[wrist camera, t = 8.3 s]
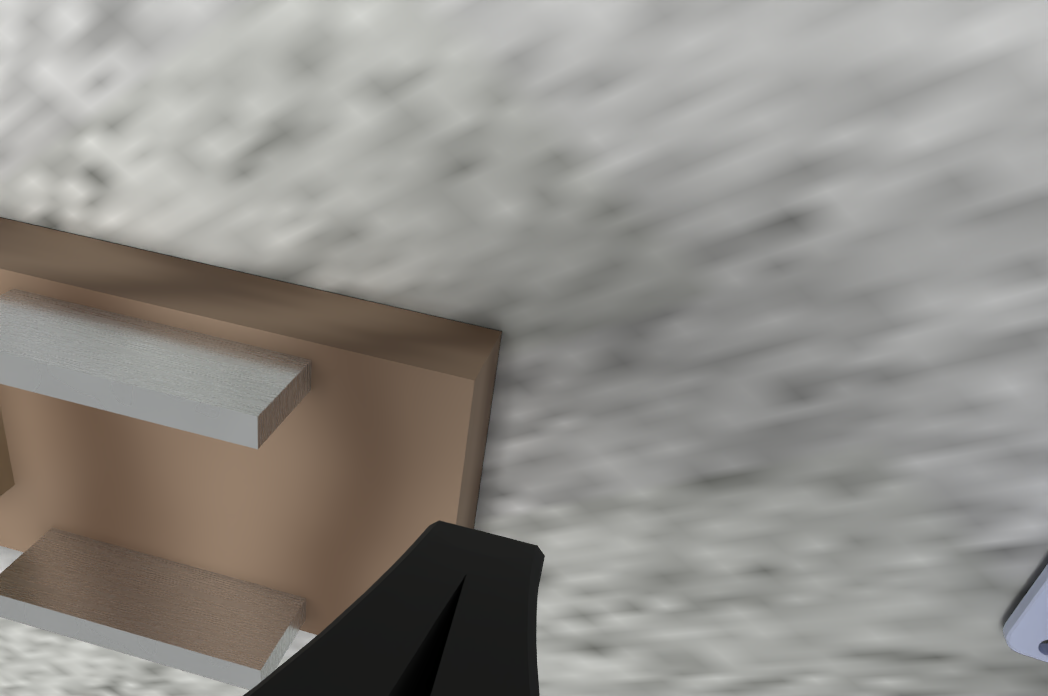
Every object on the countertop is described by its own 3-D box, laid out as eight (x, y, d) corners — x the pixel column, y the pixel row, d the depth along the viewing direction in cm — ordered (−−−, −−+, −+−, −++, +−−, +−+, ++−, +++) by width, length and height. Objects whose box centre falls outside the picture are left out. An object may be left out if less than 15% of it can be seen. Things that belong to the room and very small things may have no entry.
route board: (502, 331, 21) (474, 380, 18) (463, 602, 25) (437, 668, 23) (-363, 134, 24) (-474, 157, 21) (-265, 405, 28) (-350, 446, 26)
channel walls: (311, 359, 19) (257, 417, 17) (305, 619, 23) (260, 693, 21) (13, 288, 20) (-75, 333, 18) (55, 549, 24) (-13, 613, 22)
